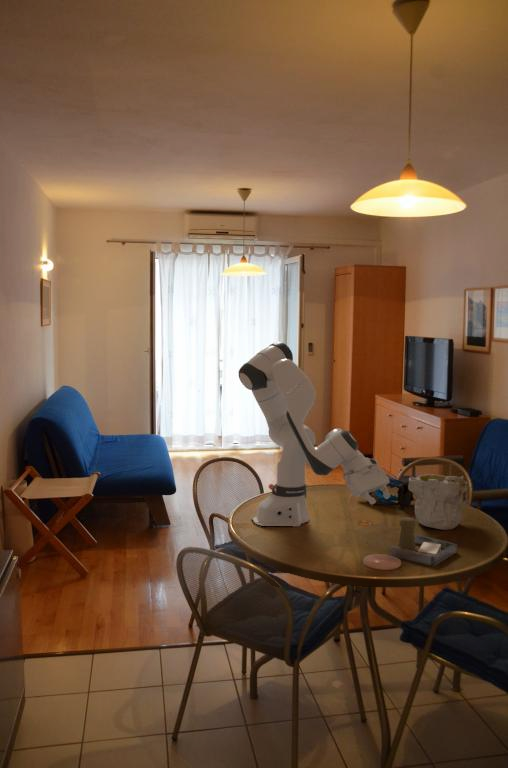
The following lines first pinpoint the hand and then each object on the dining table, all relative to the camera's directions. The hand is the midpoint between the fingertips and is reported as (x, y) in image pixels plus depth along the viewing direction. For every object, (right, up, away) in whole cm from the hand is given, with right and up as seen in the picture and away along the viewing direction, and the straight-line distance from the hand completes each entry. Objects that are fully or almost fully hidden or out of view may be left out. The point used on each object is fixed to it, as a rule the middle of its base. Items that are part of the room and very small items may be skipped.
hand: (381, 500), depth 228 cm
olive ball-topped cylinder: (+8, -16, -4) cm, 19 cm away
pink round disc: (-3, -17, -17) cm, 24 cm away
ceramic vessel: (+28, -13, +24) cm, 39 cm away
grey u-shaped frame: (+12, -16, -8) cm, 22 cm away
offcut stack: (+14, -17, -10) cm, 24 cm away
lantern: (+11, -11, +52) cm, 54 cm away
